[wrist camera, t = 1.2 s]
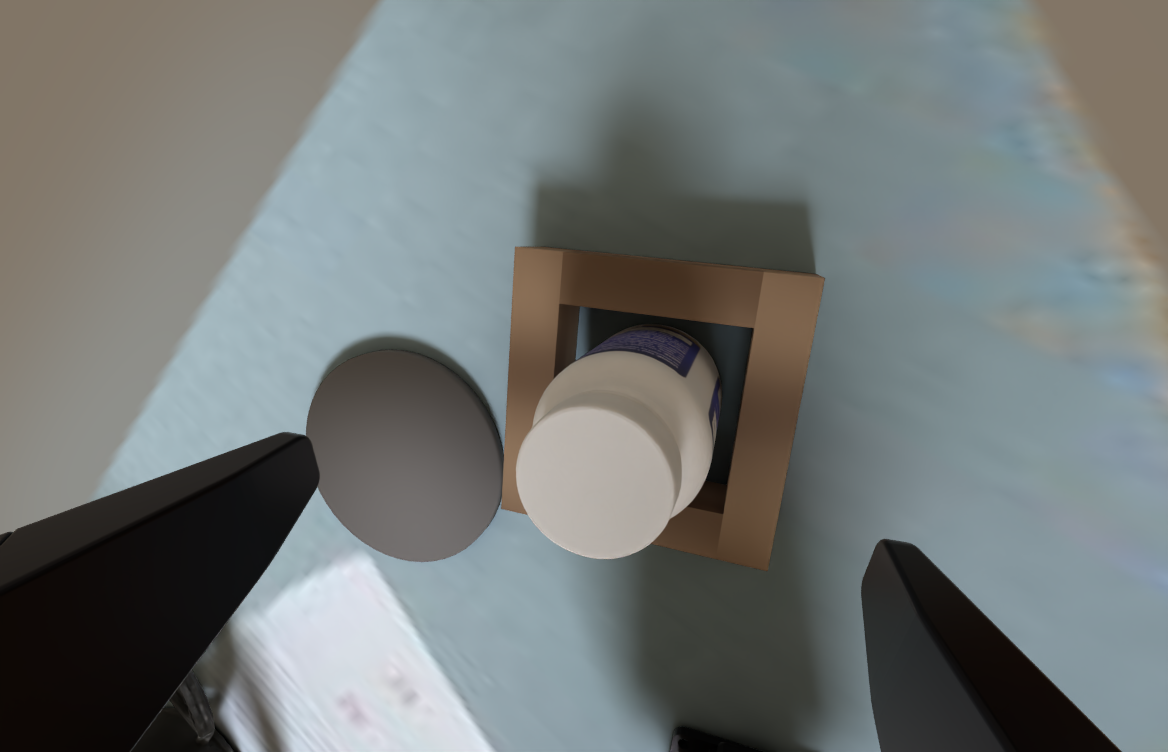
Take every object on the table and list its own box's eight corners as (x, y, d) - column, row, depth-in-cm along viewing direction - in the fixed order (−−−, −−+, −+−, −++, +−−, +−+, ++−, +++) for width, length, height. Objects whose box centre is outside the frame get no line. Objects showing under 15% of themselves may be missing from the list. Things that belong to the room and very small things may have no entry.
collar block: (766, 535, 21) (767, 571, 19) (526, 482, 24) (501, 508, 22) (815, 273, 19) (824, 278, 16) (541, 246, 21) (515, 247, 19)
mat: (499, 577, 25) (493, 585, 25) (319, 528, 28) (310, 534, 27) (510, 367, 23) (504, 370, 22) (311, 335, 25) (301, 337, 25)
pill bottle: (563, 372, 22) (449, 447, 14) (668, 294, 20) (610, 328, 12) (639, 478, 22) (572, 616, 14) (752, 411, 20) (751, 524, 12)
